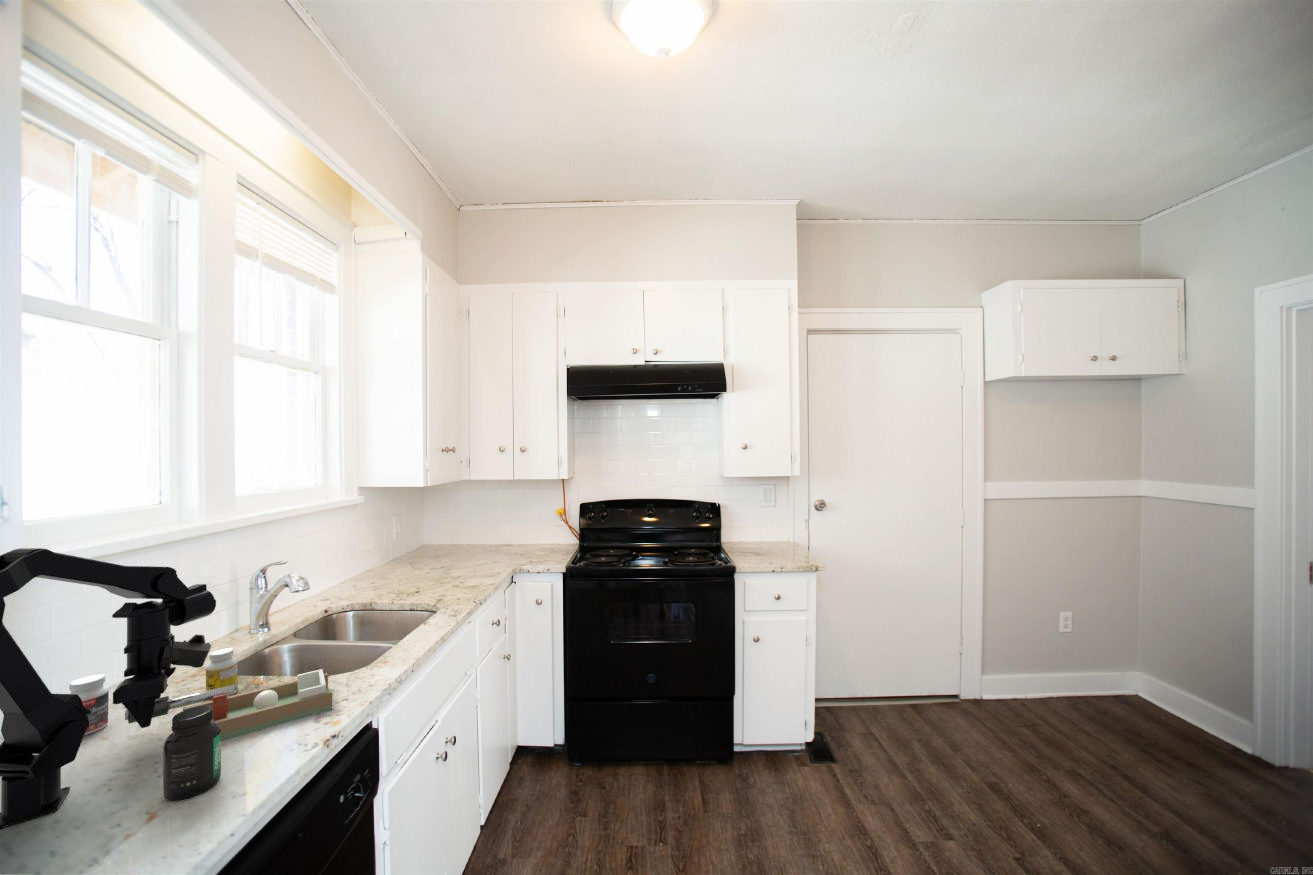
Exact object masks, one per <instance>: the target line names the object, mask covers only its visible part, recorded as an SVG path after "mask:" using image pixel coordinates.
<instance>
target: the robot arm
mask: <svg viewBox="0 0 1313 875" xmlns="http://www.w3.org/2000/svg"><path fill="white" fill-rule="evenodd" d="M35 578H40V579H47V580H52V581H53V580H54V581H58V582H59V581H60V582H67V583H72V584H73V583H74V584H79V585H85V586H92V587H93V586H94V587H98V588H101V589H104V590H106V591H107V592H108V593H110V594H113V595H116V596H118V597H122V598H124V599H127V600H128V599H132V600H133V599H135V600H137V599H143V600H147V601H143V602H139V603H137V602H124V604H122V606H121V607H119V609H117V610H116V611H115V612H114V613H113V614H112V615H111V618H113V619H117V618H118V619H126V645H125V647H124V648H123V655H126V668H125V670H124V671H123V678H125V679H123V681H121V682H120V683H119V684H118V685H117V686H116V688H115V689H114V690H113V692H112V705H119V704H122V705H123V707H124V708H125V710H126V709H127V710H128V711H129V712H130V714H131V715H132V716H133V717H134V719H135V720H136V721H137V722H136V723H137V724H138V725H139V727H140V728H142V729H144V728H149V727H150V726H151V724H152V719H153V718H152V716H153V712H154V708H155V703H156V699H157V698H161V697H162V694H164V693H165V692H166V690H167V689H168V686H169V684H168V680H169V678H170V677H171V676H172V675H174V673H175V672H176V669H177V667H176V666H182V667H192V668H197V669H198V668H202V667H203V666H204V664H205V662H206V660H207V657H208V655H209V654H210V651H211V647H212V644H210V642H206V637H205V635H203V634H194V635H193V636H192V637H191V638H189V640H185V639H183V641H178V640H177V641H176V640H175V638H176V637H175V634H173V633H172V632H171V630H172V628H171V627H172V626H173V627H178V626H182V625H185V624H188V623H190V622H194V621H196V620H199V619H203V618H206V617H208V616H210V615H211V614H213V612H214V611H215V610H216V606H217V600H216V599H215V596H214V594H213V593H212V592H211V591H209V590H208V588H207V583H206V584H205V583H202V584H201V583H195V584H193V585H190V586H187V585H186V584H185V583H184V582H183V581H182V580H181V579H180V578H179V577H178V573H177V570H176V569H175V568H173V567H171V566H152V565H151V566H148V565H147V566H145V565H144V566H143V565H141V566H140V565H139V566H138V565H122V564H117V563H110V562H107V561H102V560H98V559H97V560H96V559H92V558H91V559H90V558H87V557H82V556H76V555H71V554H66V553H61V552H55V551H52V550H51V549H47V548H39V547H37V548H36V547H35V548H33V547H31V548H23V547H22V548H21V547H20V548H16V549H12V550H11V551H7V552H6V553H3V554H1V555H0V711H1V712H2V714H3V718H2V723H1V727H0V733H1V735H2V738H3V741H2V742H1V744H0V778H1V779H0V780H1V781H0V782H1V784H0V786H1V788H0V789H1V792H0V793H1V795H0V796H1V797H0V798H1V799H0V801H1V802H0V808H1V809H0V829H1V828H4V826H5V827H7V826H6V825H8V826H11V824H12V825H14V824H18V823H22V822H25V821H28V820H32V819H35V818H38V817H42V816H45V815H48V814H52V813H54V812H56V811H57V810H59V808H60V807H61V805H62V804H63V802H64V800H65V798H66V797H67V795H68V793H69V792H70V791H71V790H70V789H71V787H70V786H66V787H62V767H64V766H66V765H69V764H70V763H72V762H73V761H75V760H76V758H77V755H78V752H79V750H80V747H81V744H82V742H83V738H84V736H85V735H84V734H85V732H86V730H87V728H88V727H89V725H90V721H89V718H88V716H87V714H90V713H91V711H90V710H87V709H86V708H85V707H84V706H83V703H82V700H81V698H80V697H79V696H78V695H77V694H70V693H52V692H51V690H50V689H49V688H48V686H47V685H46V684H45V682H44V680H43V679H42V678H41V676H40V675H39V673H38V672H37V670H36V669H35V668H34V666H33V665H32V664H31V662H30V660H29V659H28V658H27V656H26V655H25V653H24V652H23V651H22V649H21V648H20V646H19V645H18V643H17V641H16V640H15V638H13V636H12V634H11V633H10V632H9V630H8V629H7V628H6V626H5V624H4V621H3V619H4V614H5V611H6V610H5V609H6V602H5V598H6V597H8V596H10V595H13V594H14V593H15V592H16V593H17V591H18V592H19V591H20V590H21V589H23V587H24V586H25V585H27V584H29V582H31V581H32V580H33V579H35ZM150 599H151V600H150ZM157 600H161V601H160V602H159V601H157ZM172 665H173V667H172ZM131 676H132V677H131Z"/></svg>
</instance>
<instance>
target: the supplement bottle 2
mask: <svg viewBox="0 0 1313 875" xmlns="http://www.w3.org/2000/svg"><path fill="white" fill-rule="evenodd" d="M234 655H235V654H234V648H232V647H231V648H230V647H229V648H227V647H226V648H221V649H217V650H214V651H212V652H211V653H210V652H209V660H210V662H208V664H207V665H206V667H205V691H209V690H213V689H217V688H222V687H226V686H230V685H234V694H236V692H238V687H239V685H238V681H239V680H238V659H237V658H236V657H233V656H234ZM229 696H232V695H229ZM229 696H228V697H229ZM211 701H213V699H212V700H211Z"/></svg>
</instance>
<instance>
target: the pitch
mask: <svg viewBox="0 0 1313 875" xmlns="http://www.w3.org/2000/svg"><path fill="white" fill-rule="evenodd" d="M323 674H324V678H325V683H326V692H325V693H321V694H317V695H313V696H310V697H306V698H302V699H299V694H298V693H297V680H292V681H291V680H290V681H289V682H284V683H283V682H282V683H281V684H280V683H279V684H274V685H271V686H267V687H263V688H260V689H255V690H251V691H246V692H243V693H238V694H233V695H231V696H228V718H225V719H221V720H217V721H214V722H216V723H218V724H219V725H220V727H221V741H224V740H227V739H232V738H235V737H238V736H242V735H246V734H248V733H252V732H253V733H254V732H256V731H261V730H264V729H268V728H271V727H274V726H278V725H282V724H285V723H288V722H293V721H296V720H300V719H304V718H307V717H310V716H314V715H317V714H321V713H325V712H329V711H332V710H333V690H329V675H328V672H326V673H323ZM265 690H273V691H275V692H276V693H277V695H278V701H277V703H276V705H275V706H271V707H267V708H263V709H260V710H256V709H255V708H254V705H253V703H254V699H255V698H256V696H257V695H258V694H259V693H261V692H262V691H265ZM205 705H206V706H212V708H213V700H208V701H204V702H200V703H196V704H192V705H187V706H183V707H182V711H184V710H187V709H190V708H194V707H198V706H205ZM212 721H213V720H212Z"/></svg>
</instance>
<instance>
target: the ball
mask: <svg viewBox="0 0 1313 875" xmlns="http://www.w3.org/2000/svg"><path fill="white" fill-rule="evenodd" d="M277 701H278V695H277V693H276V692H275V691H273V690H265V691H262V692H261V693H259V694H258V695H257V696H256V698H255V699H254V703H253V705H254V708H255V709H256V710H260V709H263V708H267V707H271V706H275V705H276V703H277Z"/></svg>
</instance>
